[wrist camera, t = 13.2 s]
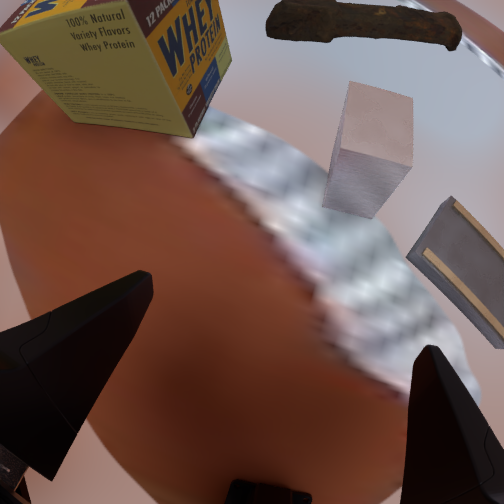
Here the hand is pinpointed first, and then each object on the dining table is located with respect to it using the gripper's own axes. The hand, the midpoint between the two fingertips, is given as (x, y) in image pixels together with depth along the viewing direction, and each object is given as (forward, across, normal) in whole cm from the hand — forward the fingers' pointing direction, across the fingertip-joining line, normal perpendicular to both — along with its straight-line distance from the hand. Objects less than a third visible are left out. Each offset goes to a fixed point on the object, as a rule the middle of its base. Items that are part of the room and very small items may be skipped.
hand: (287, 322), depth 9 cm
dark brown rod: (+32, -3, -12) cm, 34 cm away
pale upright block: (+18, -3, +2) cm, 18 cm away
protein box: (+23, +18, -3) cm, 30 cm away
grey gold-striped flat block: (+14, -15, +5) cm, 21 cm away
